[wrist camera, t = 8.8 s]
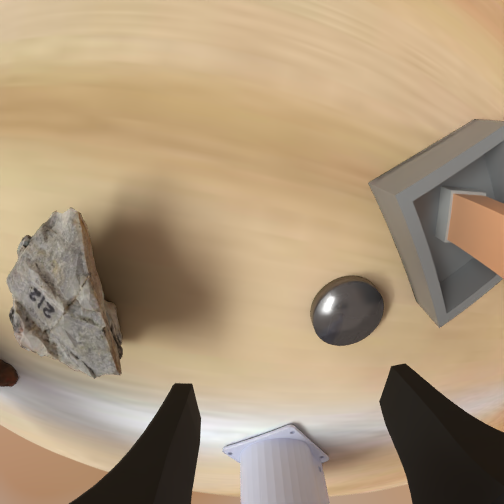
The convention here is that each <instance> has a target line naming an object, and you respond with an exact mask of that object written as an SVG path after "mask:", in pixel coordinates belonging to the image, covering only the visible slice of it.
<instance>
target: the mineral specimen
mask: <svg viewBox="0 0 504 504" xmlns="http://www.w3.org/2000/svg"><path fill="white" fill-rule="evenodd" d="M17 254H18V261H17V262H16V264H15V266H14V268H13V269H12V271H11V272H10V274H9V275H8V277H7V285H8V287H9V290H10V292H11V293H12V297H13V307H12V308H11V311H10V314H9V317H10V321H11V323H12V325H13V329H14V334H15V337H16V339H17V341H18V343H19V345H20V346H21V347H22V348H24V349H26V350H28V351H30V350H31V351H32V352H35V353H37V354H38V355H40V356H45V355H46V356H48V357H50V358H52V359H56V360H59V361H60V362H61V363H64V364H66V365H67V366H68V367H70V368H71V369H73V370H75V371H81V372H83V373H85V374H87V375H89V376H91V377H93V378H94V379H95V378H96V377H100V376H101V375H105V374H114V375H120V374H122V372H121V365H120V359H121V357H122V355H123V349H122V347H121V344H122V334H121V331H120V326H119V321H118V318H117V312H116V311H117V307H116V306H115V305H114V303H113V302H107V301H106V300H104V293H103V290H102V285H101V282H100V278H99V276H98V273H97V270H96V266H95V260H94V257H93V251H92V245H91V240H90V236H89V232H88V228H87V225H86V223H85V221H84V220H83V218H82V215H81V213H79V212H78V211H76V210H75V209H73V208H69V209H68V210H67V211H66V212H64V213H58V212H57V211H55V212H53V213H52V214H51V216H50V218H49V219H48V221H47V222H45V223H44V224H42V225H41V227H40V228H39V229H38V230H37V232H36V233H35V235H34V236H32V237H31V236H29V235H26V236H25V237H24V238H23V239H22V241H21V243H20V244H19V246H18V250H17Z"/></svg>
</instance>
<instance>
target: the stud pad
mask: <svg viewBox="0 0 504 504" xmlns="http://www.w3.org/2000/svg"><path fill="white" fill-rule="evenodd" d="M383 310H384V303H383V299H382V297H381V295H380V293H379V292H378V291H377V289H376V288H375V287H374V285H373V284H372V283H371V282H370V281H368V280H367V279H365V278H362V277H359V276H345V277H341V278H338V279H335V280H333V281H331V282H330V283H328V284H327V285H325V286H324V287H323V288H322V289H321V290H320V291H319V292H318V294H317V295H316V297H315V298H314V300H313V302H312V306H311V311H310V316H311V320H312V323H313V326H314V329H315V332H316V334H317V335H318V336H319V338H320V339H322V340H323V341H324V342H326V343H328V344H332V345H337V346H344V345H350V344H354V343H356V342H359V341H361V340H362V339H364V338H366V337H367V336H368V335H370V334H371V333H372V332H373V331H374V330H375V328H376V327H377V326H378V324H379V322H380V321H381V318H382V315H383Z"/></svg>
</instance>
